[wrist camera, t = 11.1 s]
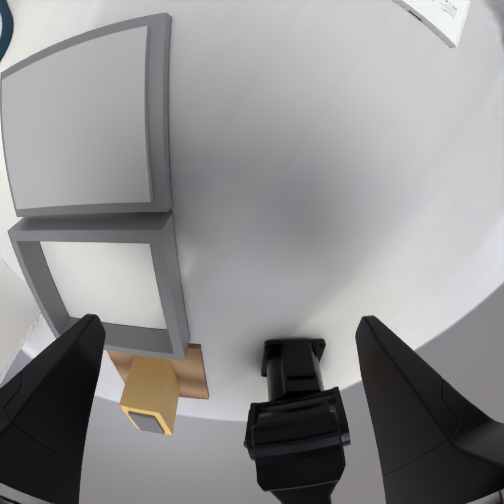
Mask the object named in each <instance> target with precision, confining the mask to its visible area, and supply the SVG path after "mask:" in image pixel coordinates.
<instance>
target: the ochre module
mask: <svg viewBox="0 0 504 504" xmlns="http://www.w3.org/2000/svg"><path fill="white" fill-rule="evenodd" d="M179 391H180V388H179V385H178V382H177V379H176V376H175V373H174V369H173V366H172V363H171V360H168V359H160V358H152V357H144V356H137V355H134V358H133V361H132V364H131V368H130V371H129V374H128V377H127V380H126V384H125V387H124V390H123V394H122V397H121V401H120V404H119V405H120V407H121V408H122V410H123V411H124V412H125V413H126V415H127V416H128V417H129V418H130V420H131V421H132V422H133V423H134V425H135V426H136V427H137V428H138V429H140V430H143V431H149V432H154V433H160V434H170V435H173V429H174V422H175V416H176V409H177V403H178V397H179Z"/></svg>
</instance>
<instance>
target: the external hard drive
mask: <svg viewBox="0 0 504 504" xmlns="http://www.w3.org/2000/svg"><path fill="white" fill-rule="evenodd" d="M12 32H13V20H12V16H11V13H10V11H9V8H8V6H7V3H6V1H5V0H0V60H1V59H2V57H3V55H4V54H5V52H6V50H7V48H8V45H9V43H10V40H11V37H12Z"/></svg>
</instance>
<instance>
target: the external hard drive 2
mask: <svg viewBox="0 0 504 504" xmlns="http://www.w3.org/2000/svg"><path fill="white" fill-rule="evenodd" d="M393 1H394V2H396V3H397V4H399V5H400V6H401V7H403V8H404V9H406V10H407V11H408V10H409V11H411V12H412V13H413V14H414V15H416V16H417V17H419V18H420V19H421V21H422V23H424V24H425V25H426V26H427V27H428V28H430V29H431V30H432V31H433V32H434V33H435V34H436V35H438V36H439V37H440V38H441V39H442V40H443V41H444V42H445V43H446V44H447V45H448V46H449V47H450V48H456V47H457V45H458V42H459V39H460V36H461V33H462V30H463V27H464V23H465V20H466V17H467V13H468V9H469V5H470V2H471V0H393Z"/></svg>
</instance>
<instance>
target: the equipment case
mask: <svg viewBox="0 0 504 504" xmlns="http://www.w3.org/2000/svg"><path fill="white" fill-rule="evenodd" d="M171 18H172V17H171V16H170V15H169V14H168V13H161V14H155V15H149V16H144V17H139V18H135V19H130V20H126V21H122V22H118V23H115V24H111V25H107V26H104V27H101V28H97V29H94V30H91V31H88V32H85V33H83V34H80V35H77V36H74V37H72V38H69V39H67V40H64V41H62V42H59V43H57V44H55V45H52V46H50V47H48V48H46V49H44V50H42V51H39V52H37V53H35V54H33V55H31V56H29V57H28V58H26V59H24V60H22V61H20V62H18V63H17V64H15V65H13V66H11V67H10V68H8V69H6V70H5V71H3V72H1V79H0V114H1V130H2V141H3V150H4V157H5V164H6V170H7V175H8V181H9V186H10V190H11V195H12V199H13V203H14V207H15V211H16V215H17V217H24V218H23V219H21V220H20V221H19V222H18V223H17V224H15V225H14V226H13V227H12V228H11V229H9V230H8V234H9V238H10V241H11V243H12V246H13V249H14V252H15V255H16V257H17V260H18V262H19V265H20V267H21V270H22V272H23V275H24V277H25V279H26V282H27V284H28V286H29V288H30V290H31V292H32V295H33V297H34V299H35V301H36V303H37V305H38V307H39V309H40V311H41V313H42V314H43V316H44V318H45V320H46V322H47V324H48V325H49V327H50V329H51V331H52V332H53V334H54V336H55V338H56V339H57V338H58V337H59V336H61V335H62V334H63V333H64V332H65V331H66V330H68V329H69V328H70V327H71V326H72V325H74V324H75V323H76V322H77V321H79V320H80V319H77V318H72V317H69V315H68V313H67V311H66V309H65V306H64V304H63V302H62V300H61V298H60V295H59V293H58V291H57V288H56V286H55V284H54V281H53V279H52V276H51V274H50V271H49V268H48V266H47V263H46V260H45V258H44V255H43V252H42V249H41V246H40V243H39V241H56V242H109V243H150V248H151V254H152V259H153V265H154V270H155V275H156V280H157V285H158V290H159V295H160V299H161V304H162V308H163V313H164V317H165V321H166V325H167V329H168V330H161V329H151V328H142V327H133V326H125V325H117V324H110V323H103V322H101V323H102V325H103V327H104V329H105V332H106V338H105V343H104V349H103V350H108V351H113V352H119V353H125V354H132V355H139V356H146V357H154V358H163V359H172V360H182V361H186V356H187V351H188V346H189V340H190V336H189V330H188V324H187V318H186V312H185V306H184V300H183V293H182V286H181V279H180V272H179V264H178V256H177V248H176V239H175V229H174V219H173V212H168V211H169V210H170V208H171V207H172V195H171V181H170V163H169V139H168V68H169V46H170V30H171Z"/></svg>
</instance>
